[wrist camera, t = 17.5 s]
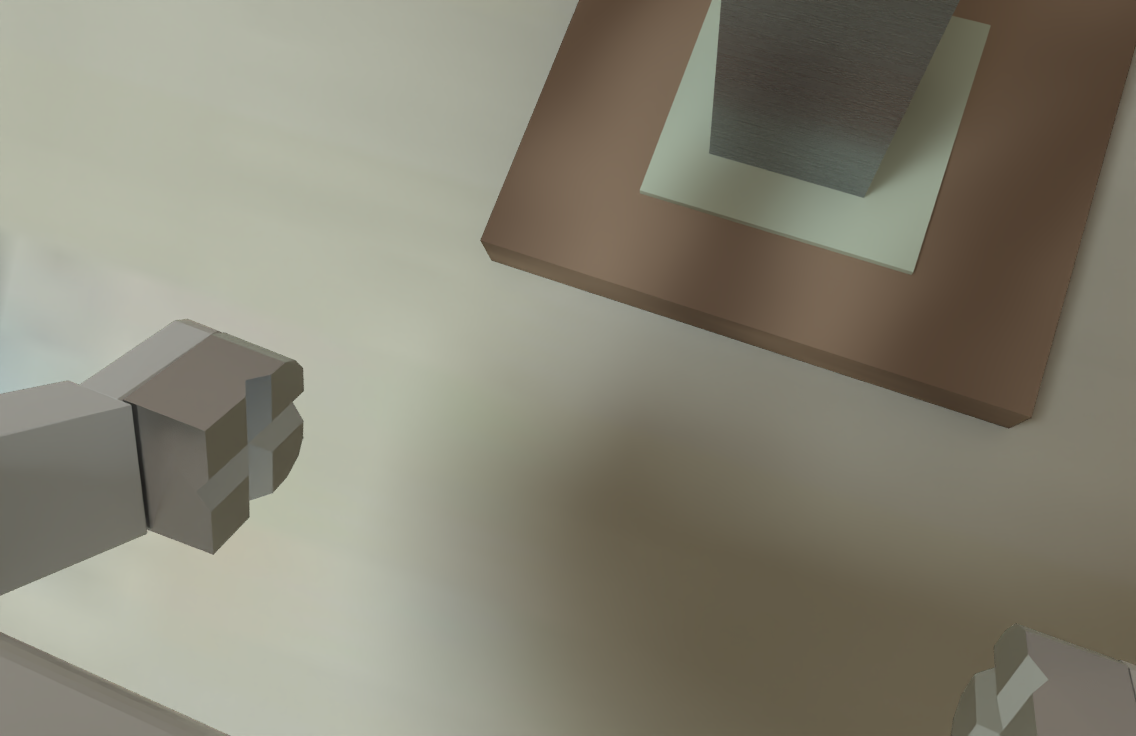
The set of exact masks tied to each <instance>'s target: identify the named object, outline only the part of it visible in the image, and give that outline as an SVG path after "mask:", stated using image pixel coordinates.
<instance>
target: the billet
mask: <svg viewBox="0 0 1136 736" xmlns="http://www.w3.org/2000/svg"><path fill="white" fill-rule="evenodd" d="M959 1H960V0H721V9H720V22H719V34H718V47H717V60H716V72H715V85H714V97H713V110H712V123H711V135H710V148H709V154H712V155H716V156H719V157H723V158H726V159H730V160H733V161H737V162H740V163H744V164H747V165H751V166H754V167H758V168H761V169H765V170H768V171H771V172H775V173H778V174H782V175H785V176H789V177H792V178H796V179H799V180H803V181H806V182H810V183H813V184H817V185H820V186H824V187H827V188H831V189H834V190H838V191H841V192H845V193H848V194H852V195H855V196H859V197H862V198H864V196H865V194H866V192H867V190H868V188H869V186H870V184H871V182H872V180H873V178H874V176H875V174H876V172H877V170H878V168H879V166H880V163H881V161H882V159H883V157H884V155H885V153H886V151H887V149H888V147H889V145H890V143H891V141H892V139H893V137H894V135H895V133H896V131H897V128H898V126H899V124H900V122H901V120H902V118H903V116H904V114H905V112H906V110H907V108H908V106H909V104H910V102H911V100H912V98H913V95H914V93H915V91H916V89H917V87H918V85H919V83H920V81H921V79H922V77H923V75H924V73H925V71H926V69H927V67H928V65H929V63H930V60H931V58H932V56H933V54H934V52H935V50H936V48H937V46H938V44H939V42H940V40H941V38H942V36H943V34H944V32H945V30H946V28H947V25H948V23H949V21H950V19H951V17H952V15H953V13H954V11H955V9H956V7H957V5H958V3H959Z"/></svg>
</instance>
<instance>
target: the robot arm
mask: <svg viewBox="0 0 1136 736" xmlns="http://www.w3.org/2000/svg"><path fill="white" fill-rule="evenodd" d="M303 391H304V379H303V367H302V366H301V365H300V364H299V363H298V362H297V361H296V360H293V359H291V358H288V357H286V356H283V355H281V354H278V353H275V352H273V351H270V350H268V349H265V348H263V347H260V346H258V345H255V344H253V343H250V342H247V341H245V340H242V339H240V338H237V337H235V336H232V335H230V334H227V333H221V332H219V331H217V330H215V329H212V328H210V327H207V326H205V325H202V324H199V323H197V322H194V321H192V320H189V319H183V320H175V321H173V322H171V323H170V324H168V325H167V326H165V327H164V328H163V329H161V330H160V331H158V332H157V333H155V334H154V335H152V336H151V337H149V338H148V339H146V340H145V341H143V342H142V343H140V344H139V345H137V346H136V347H134V348H133V349H132V350H130V351H129V352H127V353H126V354H124V355H123V356H121V357H120V358H118V359H117V360H115V361H114V362H112V363H111V364H109V365H108V366H106V367H105V368H103V369H102V370H101V371H99V372H98V373H96V374H95V375H93V376H92V377H90V378H89V379H87V380H86V381H84V382H83V383H81V384H80V385H79V384H76V383H74V382H71V381H63V382H58V383H53V384H48V385H43V386H38V387H33V388H28V389H23V390H18V391H13V392H8V393H3V394H0V595H3V594H5V593H8V592H10V591H12V590H15V589H17V588H19V587H22V586H24V585H26V584H29V583H31V582H34V581H36V580H38V579H41V578H43V577H45V576H48V575H50V574H53V573H55V572H57V571H60V570H62V569H64V568H67V567H69V566H72V565H74V564H76V563H79V562H81V561H83V560H86V559H88V558H91V557H93V556H95V555H98V554H100V553H102V552H105V551H107V550H110V549H112V548H114V547H117V546H119V545H121V544H124V543H126V542H129V541H131V540H133V539H136V538H138V537H140V536H143V535H145V534H147V530H150V531H152V532H155V533H158V534H160V535H163V536H166V537H168V538H171V539H174V540H176V541H179V542H181V543H184V544H187V545H189V546H192V547H195V548H197V549H200V550H203V551H205V552H208V553H210V554H213V555H214V554H215V553H216V551H217V550H218V549H219V548H220V547H221V546H222V545H223V544H224V543H225V542H226V541H227V540H228V539H229V538H230V537H231V536H232V535H233V534H234V533H235V532H236V531H237V530H238V529H239V528H240V527H241V526H242V525H243V524H244V522H245V521H246V520H247V519H248V518H249V517H250V514H249V500H252V499H256V498H259V497H262V496H265V495H268V494H271V493H273V492H274V491H275V490H276V489H277V488H278V487H279V485H280V484H281V483H282V482H283V481H284V480H285V479H286V478H287V476H288V474H289V473H290V471H291V469H292V467H293V465H294V463H295V461H296V459H297V458H298V456H299V452H300V448H301V444H302V439H303V419H302V417H301V416H300V414H299V412H298V411H297V409H296V407H295V405H294V404H293V401H294V400H295V399H296V398H297V397H298V396H299V395H300V394H301V393H302V392H303ZM994 660H995V668H992V669H988V670H985V671H982V672H979V673H976V674H974V676H973V678H972V679H971V681H970V682H969V684H968V685H967V687H966V689H965V690H964V692H963V693H962V695H961V698H960V701H959V704H958V707H957V710H956V712H955V715H954V718H953V724H952V731H951V736H1136V665H1135V664H1132V663H1129V662H1126V661H1123V660H1116V659H1114V658H1112V657H1109V656H1106V655H1103V654H1100V653H1098V652H1095V651H1092V650H1089V649H1086V648H1084V647H1081V646H1078V645H1075V644H1072V643H1070V642H1067V641H1064V640H1061V639H1058V638H1056V637H1053V636H1050V635H1047V634H1044V633H1042V632H1039V631H1036V630H1033V629H1030V628H1028V627H1025V626H1022V625H1019V624H1017V623H1015V624H1014V625H1013V626H1011V627H1010V628H1008V629H1007V630H1005V632H1004V633H1003V634H1002V636H1001V637H1000V639H999V640H998V641H997V643H996V644H995V646H994ZM0 736H230V735H228V734H225V733H223V732H221V731H219V730H217V729H214V728H212V727H210V726H208V725H205V724H203V723H201V722H199V721H197V720H194V719H192V718H190V717H188V716H186V715H183V714H181V713H179V712H177V711H174V710H172V709H170V708H168V707H166V706H163V705H161V704H159V703H157V702H154V701H152V700H150V699H148V698H146V697H143V696H141V695H139V694H137V693H135V692H132V691H130V690H128V689H126V688H123V687H121V686H119V685H117V684H115V683H112V682H110V681H108V680H106V679H104V678H101V677H99V676H97V675H95V674H92V673H90V672H88V671H86V670H84V669H81V668H79V667H77V666H75V665H72V664H70V663H68V662H66V661H64V660H61V659H59V658H57V657H55V656H53V655H50V654H48V653H46V652H44V651H41V650H39V649H37V648H35V647H33V646H30V645H28V644H26V643H24V642H22V641H19V640H17V639H15V638H13V637H10V636H8V635H6V634H4V633H2V632H0Z"/></svg>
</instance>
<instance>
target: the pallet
mask: <svg viewBox="0 0 1136 736" xmlns="http://www.w3.org/2000/svg"><path fill="white" fill-rule="evenodd" d="M720 9H721V0H579V2H578V4H577V7H576V9H575V12H574V14H573V17H572V19H571V21H570V24H569V26H568V29H567V31H566V34H565V36H564V38H563V41H562V43H561V46H560V48H559V51H558V53H557V55H556V58H555V60H554V63H553V65H552V68H551V70H550V72H549V75H548V77H547V80H546V82H545V85H544V87H543V89H542V92H541V94H540V97H539V99H538V102H537V104H536V106H535V109H534V111H533V114H532V116H531V119H530V121H529V123H528V126H527V128H526V131H525V133H524V136H523V138H522V140H521V143H520V145H519V148H518V150H517V153H516V155H515V157H514V160H513V162H512V165H511V167H510V170H509V172H508V174H507V177H506V179H505V182H504V184H503V187H502V189H501V191H500V194H499V196H498V199H497V201H496V204H495V206H494V209H493V211H492V213H491V216H490V218H489V221H488V223H487V226H486V228H485V230H484V233H483V235H482V238H481V240H480V241H481V242H482V244H483V246H484V248H485V249H486V251H487V253H488V255H489V257H490V258H491V260H492V261H495V262H498V263H501V264H505V265H508V266H511V267H514V268H517V269H520V270H523V271H526V272H529V273H532V274H535V275H538V276H541V277H545V278H548V279H551V280H554V281H557V282H560V283H563V284H566V285H569V286H572V287H575V288H578V289H581V290H585V291H588V292H591V293H594V294H597V295H600V296H603V297H606V298H609V299H612V300H615V301H618V302H621V303H625V304H628V305H631V306H634V307H637V308H640V309H643V310H646V311H649V312H652V313H655V314H658V315H661V316H665V317H668V318H671V319H674V320H677V321H680V322H683V323H686V324H689V325H692V326H695V327H698V328H701V329H705V330H708V331H711V332H714V333H717V334H720V335H723V336H726V337H729V338H732V339H735V340H738V341H742V342H745V343H748V344H751V345H754V346H757V347H760V348H763V349H766V350H769V351H772V352H775V353H778V354H782V355H785V356H788V357H791V358H794V359H797V360H800V361H803V362H806V363H809V364H812V365H815V366H818V367H822V368H825V369H828V370H831V371H834V372H837V373H840V374H843V375H846V376H849V377H852V378H855V379H858V380H862V381H865V382H868V383H871V384H874V385H877V386H880V387H883V388H886V389H889V390H892V391H895V392H898V393H902V394H905V395H908V396H911V397H914V398H917V399H920V400H923V401H926V402H929V403H932V404H935V405H938V406H942V407H945V408H948V409H951V410H954V411H957V412H960V413H963V414H966V415H969V416H972V417H975V418H978V419H982V420H985V421H988V422H991V423H994V424H997V425H1000V426H1003V427H1006V428H1010V427H1012V426H1015V425H1017V424H1019V423H1021V422H1023V421H1025V420H1027V419H1029V418H1031V417H1032V414H1033V410H1034V407H1035V403H1036V399H1037V396H1038V392H1039V389H1040V385H1041V382H1042V378H1043V374H1044V371H1045V367H1046V364H1047V360H1048V357H1049V353H1050V349H1051V346H1052V342H1053V339H1054V335H1055V332H1056V328H1057V324H1058V321H1059V317H1060V314H1061V310H1062V307H1063V303H1064V299H1065V296H1066V292H1067V289H1068V285H1069V282H1070V278H1071V274H1072V271H1073V267H1074V264H1075V260H1076V257H1077V253H1078V249H1079V246H1080V242H1081V239H1082V235H1083V232H1084V228H1085V224H1086V221H1087V217H1088V214H1089V210H1090V207H1091V203H1092V199H1093V196H1094V192H1095V189H1096V185H1097V182H1098V178H1099V174H1100V171H1101V167H1102V164H1103V160H1104V157H1105V153H1106V149H1107V146H1108V142H1109V139H1110V135H1111V132H1112V128H1113V124H1114V121H1115V117H1116V114H1117V110H1118V107H1119V103H1120V99H1121V96H1122V92H1123V89H1124V85H1125V82H1126V78H1127V74H1128V71H1129V67H1130V64H1131V60H1132V57H1133V53H1134V49H1135V46H1136V0H960V1H959V3H958V5H957V7H956V9H955V11H954V13H953V15H952V17H951V19H950V21H949V23H948V25H947V28H946V30H945V32H944V34H943V36H942V38H941V40H940V42H939V44H938V46H937V48H936V50H935V52H934V54H933V56H932V58H931V60H930V63H929V65H928V67H927V69H926V71H925V73H924V75H923V77H922V79H921V81H920V83H919V85H918V87H917V89H916V91H915V93H914V95H913V98H912V100H911V102H910V104H909V106H908V108H907V110H906V112H905V114H904V116H903V118H902V120H901V122H900V124H899V126H898V128H897V131H896V133H895V135H894V137H893V139H892V141H891V143H890V145H889V147H888V149H887V151H886V153H885V155H884V157H883V159H882V161H881V163H880V166H879V168H878V170H877V172H876V174H875V176H874V178H873V180H872V182H871V184H870V186H869V188H868V190H867V192H866V194H865V196H864V198H862V197H859V196H855V195H852V194H848V193H845V192H841V191H838V190H834V189H831V188H827V187H824V186H820V185H817V184H813V183H810V182H806V181H803V180H799V179H796V178H792V177H789V176H785V175H782V174H778V173H775V172H771V171H768V170H765V169H761V168H758V167H754V166H751V165H747V164H744V163H740V162H737V161H733V160H730V159H726V158H723V157H719V156H716V155H712V154H709V148H710V135H711V123H712V110H713V97H714V85H715V72H716V60H717V47H718V34H719V22H720Z"/></svg>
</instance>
